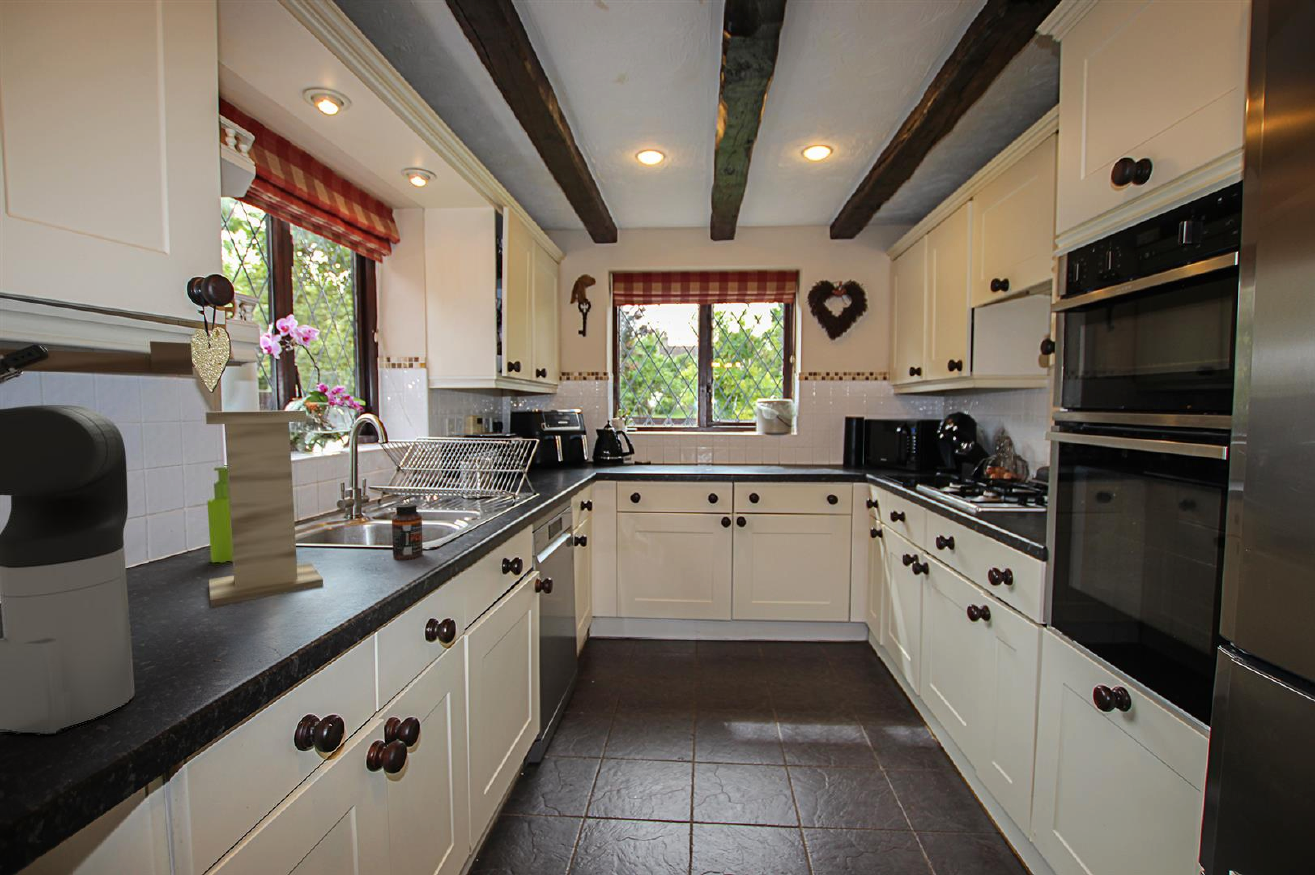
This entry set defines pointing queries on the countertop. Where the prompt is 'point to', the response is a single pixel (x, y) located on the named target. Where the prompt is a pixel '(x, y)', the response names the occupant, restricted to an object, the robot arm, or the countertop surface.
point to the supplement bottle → (407, 532)
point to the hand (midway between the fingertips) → (45, 351)
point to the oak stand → (260, 507)
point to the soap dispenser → (220, 520)
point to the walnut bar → (118, 361)
